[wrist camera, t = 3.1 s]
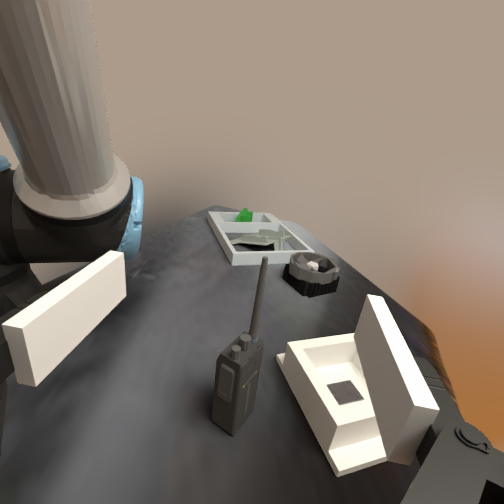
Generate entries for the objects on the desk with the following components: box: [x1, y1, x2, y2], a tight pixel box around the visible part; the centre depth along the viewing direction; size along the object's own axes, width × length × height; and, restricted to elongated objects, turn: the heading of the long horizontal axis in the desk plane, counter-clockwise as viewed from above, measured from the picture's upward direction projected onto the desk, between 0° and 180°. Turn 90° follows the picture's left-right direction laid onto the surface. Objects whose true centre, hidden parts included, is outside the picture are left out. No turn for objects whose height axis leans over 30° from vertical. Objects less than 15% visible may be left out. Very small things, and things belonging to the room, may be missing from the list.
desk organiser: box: [208, 212, 314, 266], centre depth 84 cm, size 30×21×3 cm
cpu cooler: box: [283, 252, 340, 298], centre depth 64 cm, size 10×6×10 cm
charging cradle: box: [276, 333, 387, 477], centre depth 38 cm, size 16×12×5 cm
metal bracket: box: [230, 229, 291, 251], centre depth 81 cm, size 14×6×15 cm
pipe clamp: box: [236, 208, 253, 222], centre depth 92 cm, size 10×4×4 cm, turn 168°
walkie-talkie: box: [211, 256, 268, 436], centre depth 31 cm, size 5×3×20 cm
